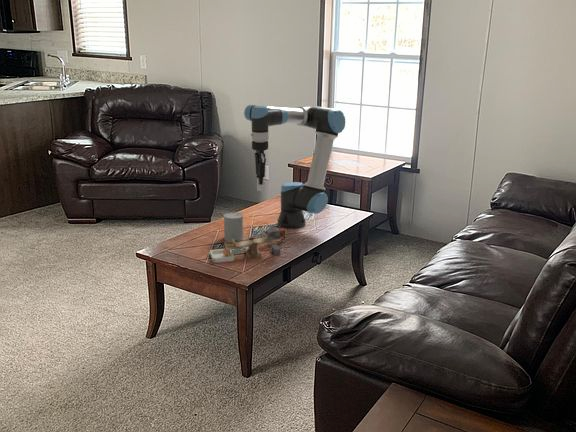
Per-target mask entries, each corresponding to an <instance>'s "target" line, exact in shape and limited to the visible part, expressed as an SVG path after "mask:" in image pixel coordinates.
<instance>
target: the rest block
mask: <svg viewBox="0 0 576 432" xmlns="http://www.w3.org/2000/svg"><path fill="white" fill-rule="evenodd" d="M270 246H271V252H272V253H273V255H274V256H276V255H281V254H282V253H281V250H282V249H281V248H280V247H279V245H278V244H271V245H270Z"/></svg>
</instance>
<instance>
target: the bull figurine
mask: <svg viewBox="0 0 576 432" xmlns="http://www.w3.org/2000/svg"><path fill="white" fill-rule="evenodd" d="M277 229H278V230H279V234H280V238H281V240H282V243H285V242H286V233H287V229H285V228H281V227H279V228H277ZM259 233H260V235H262V236H265V237H267V228H263V229H262V230H261V232H259ZM277 242H279V241H276V243H277ZM271 245H272V242H271V243H268V246H271Z"/></svg>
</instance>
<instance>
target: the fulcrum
mask: <svg viewBox="0 0 576 432" xmlns="http://www.w3.org/2000/svg"><path fill="white" fill-rule="evenodd" d="M251 239H255V237H254V236H252V237H248V240H251ZM244 253H245V254H246V256H247V257H248V259H256V258H257V259H258V258H262V253H261V252H260V249H259V248H258V245H257V242H256V243H252V246H249V247H248V248H245V249H244Z"/></svg>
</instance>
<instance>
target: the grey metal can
mask: <svg viewBox="0 0 576 432" xmlns="http://www.w3.org/2000/svg"><path fill="white" fill-rule="evenodd" d="M243 222H244V214H243V213H241V212H233V211H232V212H227V213H225V214H223V229H224V230H223V231H224V232H223V234H224V239H223V240H225V242H228V241H232V239H234V241H235V243H236V242H242V241H244V223H243Z"/></svg>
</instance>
